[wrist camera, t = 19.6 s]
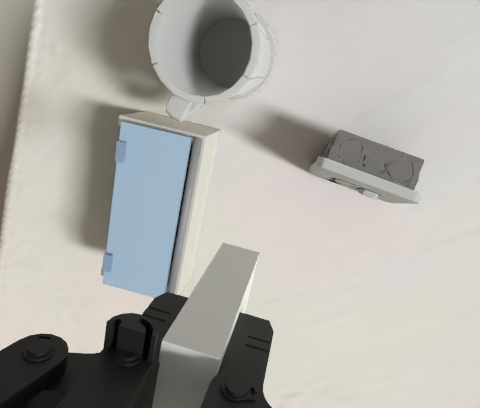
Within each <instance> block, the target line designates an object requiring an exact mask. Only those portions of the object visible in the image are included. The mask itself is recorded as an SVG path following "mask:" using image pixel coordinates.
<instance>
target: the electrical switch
mask: <svg viewBox="0 0 480 408" xmlns="http://www.w3.org/2000/svg"><path fill="white" fill-rule="evenodd" d="M338 132H339V133H338ZM338 132H337V133H336V134H335V135H334V136H333V137H332V138H331V140H330V141H329V142H328V144H327V147H326V149H325V151H324V152H323V154H322V157H320V156H319V157H318V158H317V161H316V162H315V163H314V164H311V166H310V170H309V172H310V173H312V174H313V175H315V176H318V177H321V178H323V179H326V180H329V181H331V182H334V183H337V184H340V185H342V186H345V187H348V188H350V189H353V190H356V191H359V193H361V194H362V195H365V196H367V197H370V198H373V199H380V200H383V201H386V202H390V203H412V204H418V203H419V201H420V199H421V197H422V194H421V193H419V192H417V191H414V189H415V185H416V183H417V181H418V178H419V172H420V170H421V167H422V165H423V162H424V160H423V159H420V158H417V157H415V156H412V155H409V154H406V153H404V152H401V151H398V150H395V149H393V148H390V147H387V146H384V145H381V144H379V143H376V142H373V141H370V140H368V139H365V138H362V137H359V136H357V135H354V134H351V133H348V132H345V131H343V130H340V131H339V130H338ZM337 134H338V136H337ZM336 137H337V138H336ZM350 138H351V139H350ZM335 140H336V141H335ZM404 157H405V158H406V159H405V158H404ZM390 162H391V163H390Z"/></svg>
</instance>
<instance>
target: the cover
mask: <svg viewBox="0 0 480 408" xmlns="http://www.w3.org/2000/svg"><path fill="white" fill-rule="evenodd" d="M191 141H192V137H190V136H186V135H182V134H178V133H173V132H169V131H165V130H161V129H157V128H152V127H148V126H144V125H140V124H135V123H131V122H127V121H121V128H120V137H119V140H118V141H117V144H116V153H115V161H116V162H117V163H116V171H115V180H114V189H113V197H112V206H111V215H110V224H109V232H108V241H107V250H106V253H105V254H104V259H103V267H102V271H104V276H103V284H106V285H110V286H114V287H117V288H121V289H125V290H128V291H132V292H136V293H139V294H143V295H147V296H151V297H154V298H155V297H157V296H159V295H161V294H163V293H165V292H166V287H167V281H168V275H169V269H170V263H171V257H172V252H173V246H174V240H175V234H176V228H177V223H178V217H179V211H180V205H181V199H182V193H183V188H184V182H185V176H186V170H187V164H188V159H189V153H190V147H191ZM201 145H202V139H201V138H198V137H194V141H193V147H192V153H191V158H190V164H189V170H188V176H187V182H186V187H185V193H184V199H183V205H182V210H181V216H180V222H179V228H178V233H177V239H176V245H175V251H174V256H173V262H172V268H171V274H170V279H169V285H168V291H167V292H170V293H173V294H175V289H176V284H177V278H178V273H179V267H180V261H181V256H182V250H183V245H184V239H185V234H186V228H187V223H188V217H189V212H190V206H191V200H192V195H193V189H194V184H195V178H196V173H197V167H198V162H199V156H200V151H201Z"/></svg>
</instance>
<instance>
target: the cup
mask: <svg viewBox="0 0 480 408" xmlns="http://www.w3.org/2000/svg"><path fill="white" fill-rule="evenodd" d="M157 10H158V11H159V12H160V13H159V12H157V11H155V14H154V17H153V19H152V22H151V25H150V27H149V42H148V48H149V53H150V58H151V62H152V64H155V65H153V68H154V70H155V72H156V73H157V75H158V77H159V79H160V81H161V82H162V83H163V84H164V85H165V86H166V87H167V88H168V89H169V90H170V91H171V92H172V93H173V94H172V95H171V97H170V99H169V101H168V103H167V105H166V113H167V114H168V115H169V116H170V117H171V118H173V119H175V120H177V121H179V122H182V121H184V120H186V119H188V118H190V117H192V116H193V115H194V114H195V113H196V111H197V110H198V109H199V108H200V107H201V105H202V104H212V103H218V102H222V101H224V100H226V99H238V98H244V97H248V96H250V95H252V94H253V93H255V92H257V91H259V90H260V89H261V88H262V87H263V86H264V84H265V83H266V82H267V81H268V80H269V78H270V76H271V74H272V72H273V70H274V66H275V60H276V46H275V39H274V37H273V35H272V33H271V31H270V29H269V27H268V25H267V24H266V23H265V22H264V21H263V20H262V19H261V18H260V17H259V16H258V15H257V14H255V13H253V12H252V10H251V8H250V6H249V4H248V3H247V2H246V1H245V0H163V1H162V2H161V4H160V5H159V6H158V8H157Z"/></svg>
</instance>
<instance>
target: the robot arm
mask: <svg viewBox="0 0 480 408" xmlns="http://www.w3.org/2000/svg"><path fill="white" fill-rule="evenodd" d="M258 258H259V252H255V251H251V250H248V249H244V248H240V247H237V246H233V245H230V244H226V243H223V244H222V245H221V247H220V249H219V250H218V252H217V253H216V255H215V257H214V258H213V260H212V261H211V263H210V265H209V266H208V268H207V269H206V271H205V273H204V274H203V276H202V277H201V279H200V281H199V282H198V284H197V285H196V287H195V289H194V290H193V292H192V293H191V295H190V297H189V298H187V297H183V296H180V295H176V294H173V293H170V292H165V293H163V294H161V295H159V296H157V297H155V299H154V300H153V301H152V302H151V304H150V305H149V306H148V308H147V309H146V310H145V311H144V313H143V315H140V314H134V313H128V314H120V315H117V316H114V317H112V318H111V319H110V320H108V321H107V325H106V333H105V341H104V349H103V350H102V351H101V352H100V353H95V354H83V353H68V346H67V343H66V342H65V341H64V340H63V339H62V338H61V337H58V336H55V335H52V334H36V335H30V336H28V337H25V338H23V339H20V340H18V341H17V342H15V343H13V344H11V345H10V346H8V347H6V348H4V349H3V350H1V351H0V408H272V407H271V406H270V405H269V404H268V403H267V401H266V399H265V397H264V394H263V383H264V378H265V372H266V367H267V362H268V357H269V352H270V347H271V342H272V337H273V329H272V327H271V324H270V322H269V321H268V320H265V319H261V318H258V317H254V316H251V315H248V314H244V313H245V310H246V306H247V302H248V298H249V294H250V290H251V286H252V282H253V278H254V274H255V270H256V266H257V262H258Z"/></svg>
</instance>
